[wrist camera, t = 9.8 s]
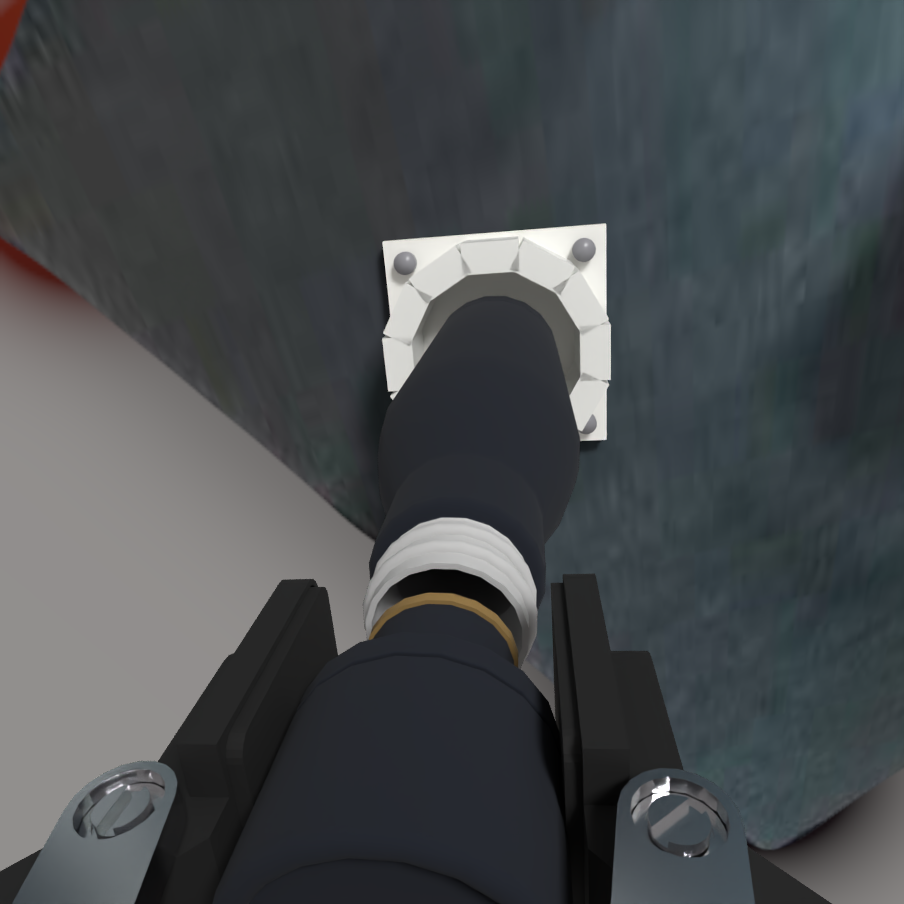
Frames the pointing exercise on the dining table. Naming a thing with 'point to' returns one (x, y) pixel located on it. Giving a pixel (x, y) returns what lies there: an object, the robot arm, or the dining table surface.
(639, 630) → the dining table surface
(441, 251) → the flange socket
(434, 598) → the dark blue bottle
